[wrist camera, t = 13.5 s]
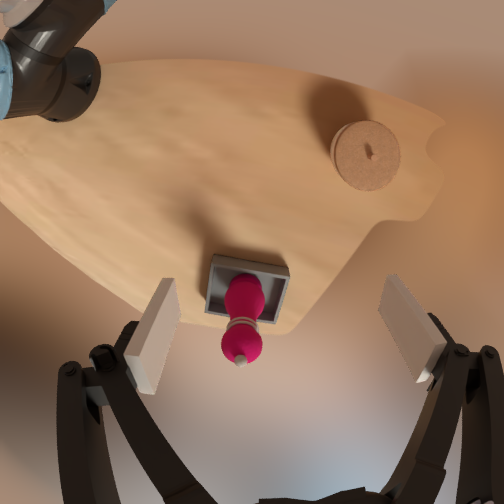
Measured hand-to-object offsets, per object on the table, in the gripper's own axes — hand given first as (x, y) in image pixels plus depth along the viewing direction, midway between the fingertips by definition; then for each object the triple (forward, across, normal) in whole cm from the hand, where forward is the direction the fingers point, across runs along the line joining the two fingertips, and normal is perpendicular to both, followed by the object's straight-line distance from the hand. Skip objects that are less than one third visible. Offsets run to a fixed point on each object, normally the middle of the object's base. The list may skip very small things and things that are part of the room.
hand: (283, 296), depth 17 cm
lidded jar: (+33, +15, +6) cm, 37 cm away
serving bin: (+33, -4, -20) cm, 38 cm away
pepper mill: (+32, -4, -20) cm, 38 cm away
